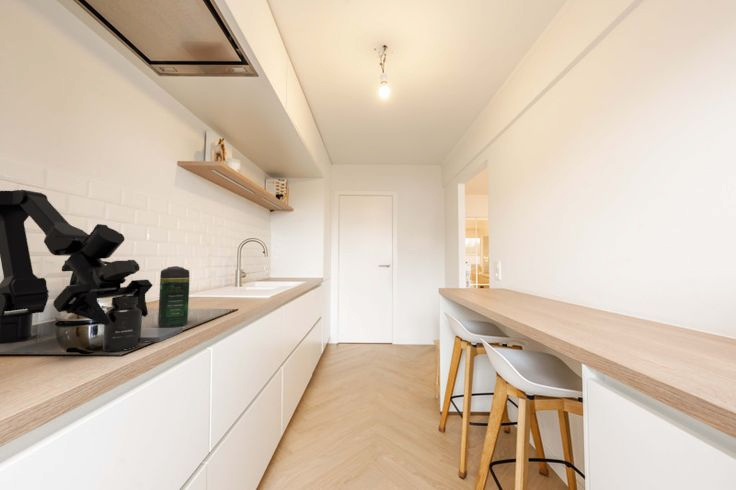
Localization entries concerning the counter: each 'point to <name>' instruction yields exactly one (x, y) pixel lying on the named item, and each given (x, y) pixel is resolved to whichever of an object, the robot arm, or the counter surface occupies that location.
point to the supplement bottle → (123, 324)
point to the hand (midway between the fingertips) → (128, 319)
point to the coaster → (158, 334)
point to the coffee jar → (173, 297)
